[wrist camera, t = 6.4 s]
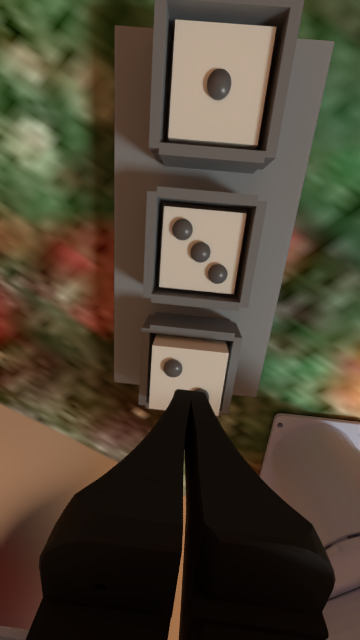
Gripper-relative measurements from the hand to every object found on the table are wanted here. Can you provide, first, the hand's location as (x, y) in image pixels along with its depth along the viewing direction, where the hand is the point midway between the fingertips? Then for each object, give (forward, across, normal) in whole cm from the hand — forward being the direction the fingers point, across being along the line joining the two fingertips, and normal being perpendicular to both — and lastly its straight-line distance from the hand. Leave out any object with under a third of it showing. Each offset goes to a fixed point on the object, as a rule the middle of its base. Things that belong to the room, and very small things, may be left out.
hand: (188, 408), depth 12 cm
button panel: (+9, 0, -6) cm, 11 cm away
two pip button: (+5, 0, +1) cm, 6 cm away
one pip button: (+7, 0, -14) cm, 16 cm away
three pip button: (+7, 0, -6) cm, 10 cm away
